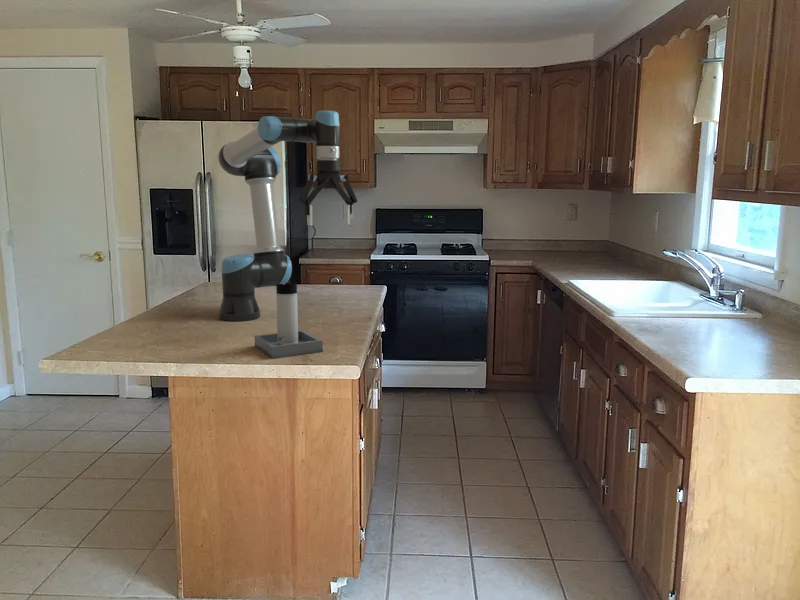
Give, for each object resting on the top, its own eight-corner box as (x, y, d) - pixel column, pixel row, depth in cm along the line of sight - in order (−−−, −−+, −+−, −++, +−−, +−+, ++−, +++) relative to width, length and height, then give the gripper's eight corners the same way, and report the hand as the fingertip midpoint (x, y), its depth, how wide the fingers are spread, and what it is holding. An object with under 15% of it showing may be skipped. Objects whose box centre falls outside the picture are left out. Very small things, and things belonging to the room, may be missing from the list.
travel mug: (279, 349, 198) (277, 284, 194) (276, 344, 204) (275, 280, 201) (299, 347, 200) (298, 283, 196) (296, 342, 206) (295, 280, 202)
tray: (254, 346, 205) (254, 335, 204) (302, 340, 213) (302, 330, 212) (272, 358, 192) (272, 347, 191) (322, 351, 200) (322, 340, 199)
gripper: (296, 158, 205) (297, 226, 209) (367, 160, 218) (367, 224, 222) (287, 159, 212) (289, 225, 216) (356, 160, 224) (357, 222, 228)
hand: (328, 224), depth 219 cm, fingers open, 13 cm apart
